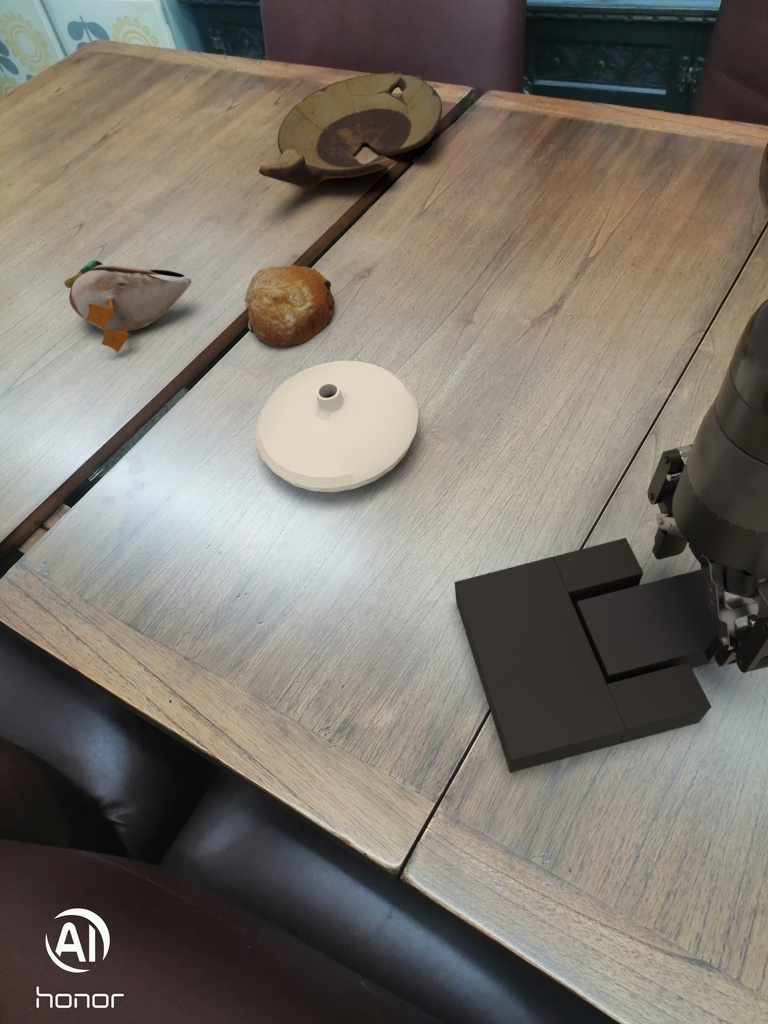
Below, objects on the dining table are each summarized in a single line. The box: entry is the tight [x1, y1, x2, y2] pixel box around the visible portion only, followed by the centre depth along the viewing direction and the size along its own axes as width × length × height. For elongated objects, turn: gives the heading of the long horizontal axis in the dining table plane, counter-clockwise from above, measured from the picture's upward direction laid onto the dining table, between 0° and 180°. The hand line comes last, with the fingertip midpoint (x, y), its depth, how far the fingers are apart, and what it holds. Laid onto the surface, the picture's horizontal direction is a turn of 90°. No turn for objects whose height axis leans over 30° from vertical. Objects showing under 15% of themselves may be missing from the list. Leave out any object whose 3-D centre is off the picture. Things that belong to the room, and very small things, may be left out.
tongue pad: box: [575, 568, 739, 684], centre depth 52 cm, size 10×6×4 cm, turn 102°
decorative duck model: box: [63, 260, 192, 353], centre depth 81 cm, size 15×8×15 cm
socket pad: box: [454, 537, 712, 773], centre depth 52 cm, size 14×14×4 cm
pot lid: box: [255, 360, 420, 493], centre depth 65 cm, size 16×16×7 cm
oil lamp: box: [258, 70, 443, 189], centre depth 94 cm, size 22×30×8 cm
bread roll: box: [243, 264, 335, 348], centre depth 78 cm, size 10×10×8 cm
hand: (692, 601), depth 51 cm, fingers open, 8 cm apart
